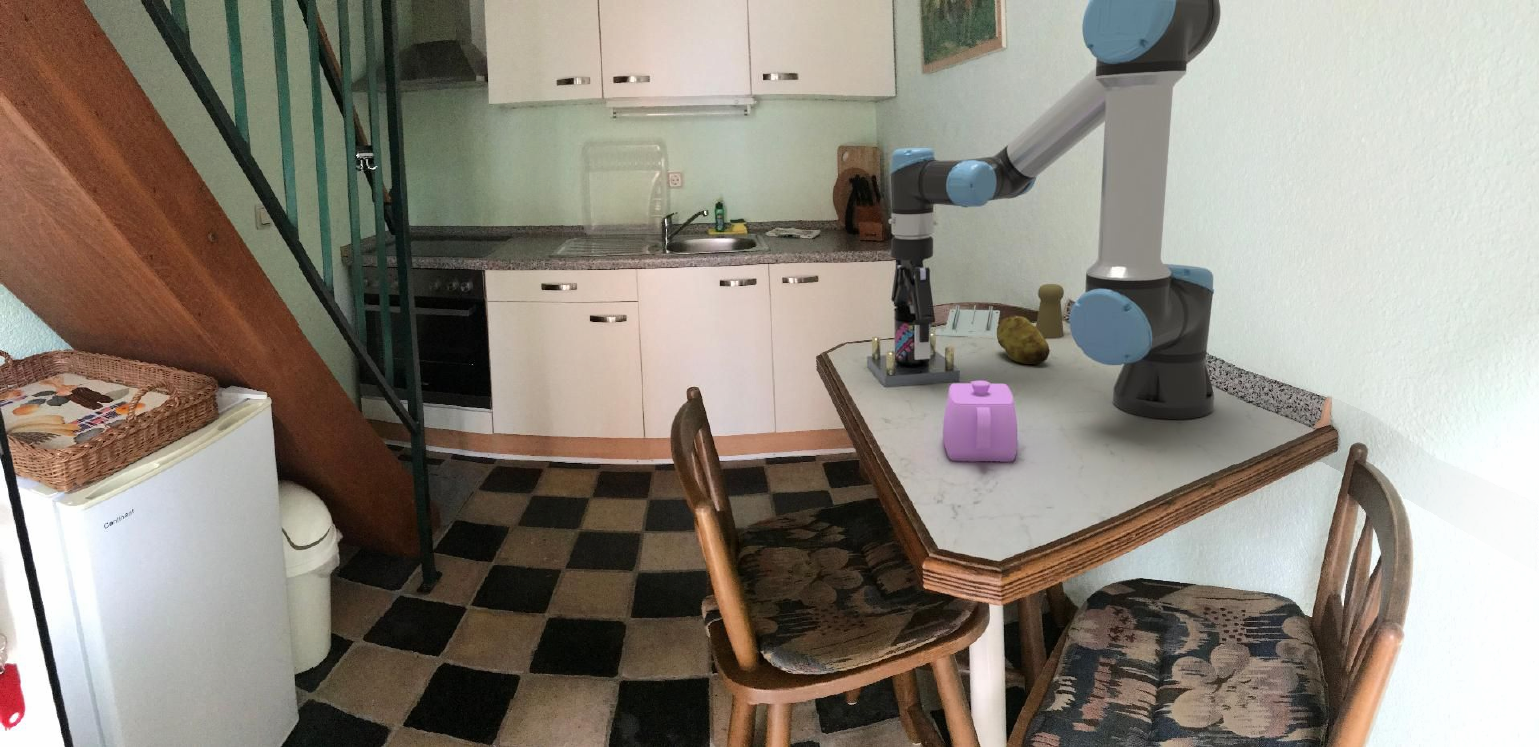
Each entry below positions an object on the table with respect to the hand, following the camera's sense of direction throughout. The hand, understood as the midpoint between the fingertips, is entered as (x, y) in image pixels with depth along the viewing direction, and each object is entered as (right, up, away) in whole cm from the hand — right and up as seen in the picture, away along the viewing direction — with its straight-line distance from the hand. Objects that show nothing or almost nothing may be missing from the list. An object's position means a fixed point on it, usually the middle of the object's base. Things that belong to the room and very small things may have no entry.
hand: (911, 349), depth 168 cm
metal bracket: (+18, +4, +31) cm, 36 cm away
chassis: (0, -5, +1) cm, 5 cm away
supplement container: (0, -3, +1) cm, 3 cm away
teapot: (+4, -16, -36) cm, 39 cm away
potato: (+23, -2, +8) cm, 24 cm away
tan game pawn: (+33, +4, +24) cm, 41 cm away
